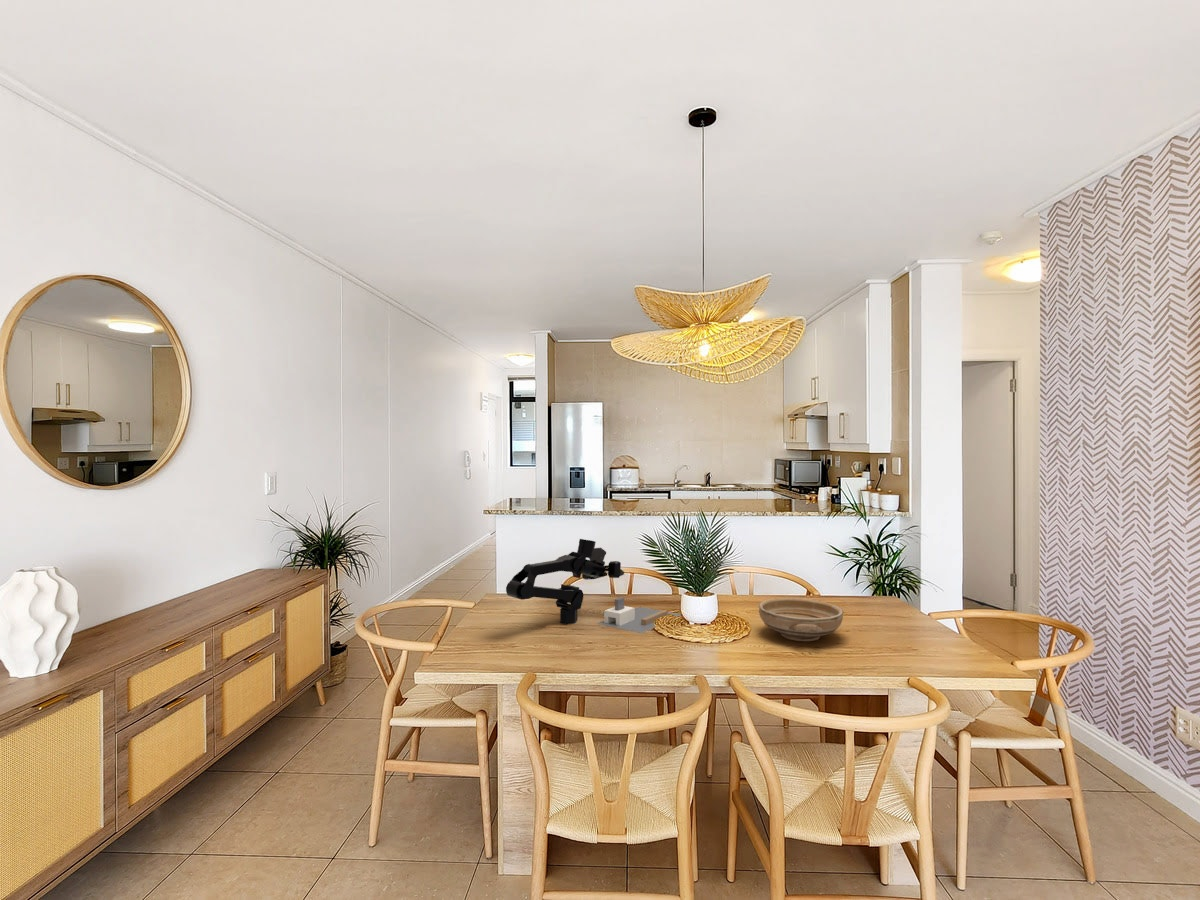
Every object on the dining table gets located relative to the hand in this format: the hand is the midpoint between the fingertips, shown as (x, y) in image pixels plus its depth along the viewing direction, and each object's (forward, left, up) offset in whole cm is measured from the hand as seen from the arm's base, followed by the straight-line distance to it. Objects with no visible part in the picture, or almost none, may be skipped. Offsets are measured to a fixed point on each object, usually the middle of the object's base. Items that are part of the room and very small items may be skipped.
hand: (615, 573), depth 248 cm
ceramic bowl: (+12, -71, -16) cm, 74 cm away
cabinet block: (-13, -11, -15) cm, 22 cm away
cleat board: (-6, -16, -16) cm, 23 cm away
